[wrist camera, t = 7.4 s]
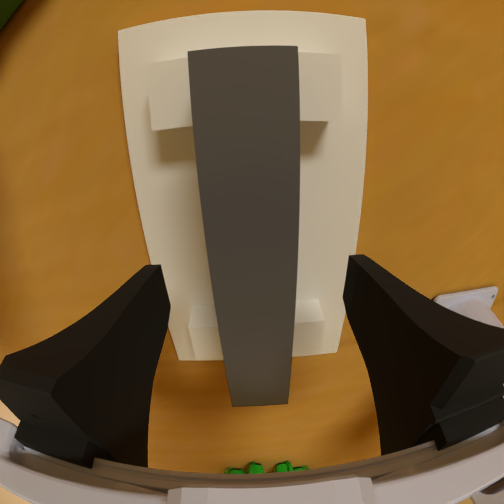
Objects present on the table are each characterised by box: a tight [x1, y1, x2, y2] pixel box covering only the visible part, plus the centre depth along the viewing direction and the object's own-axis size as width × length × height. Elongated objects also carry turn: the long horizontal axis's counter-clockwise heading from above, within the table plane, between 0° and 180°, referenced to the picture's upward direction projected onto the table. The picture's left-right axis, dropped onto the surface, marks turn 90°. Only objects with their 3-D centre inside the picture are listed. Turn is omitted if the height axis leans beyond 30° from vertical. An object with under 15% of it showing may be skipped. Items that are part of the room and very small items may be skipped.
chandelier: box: [223, 461, 309, 474], centre depth 36 cm, size 15×15×7 cm
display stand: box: [118, 11, 368, 360], centre depth 16 cm, size 22×12×3 cm, turn 3°
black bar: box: [187, 45, 300, 407], centre depth 12 cm, size 16×3×4 cm, turn 3°
